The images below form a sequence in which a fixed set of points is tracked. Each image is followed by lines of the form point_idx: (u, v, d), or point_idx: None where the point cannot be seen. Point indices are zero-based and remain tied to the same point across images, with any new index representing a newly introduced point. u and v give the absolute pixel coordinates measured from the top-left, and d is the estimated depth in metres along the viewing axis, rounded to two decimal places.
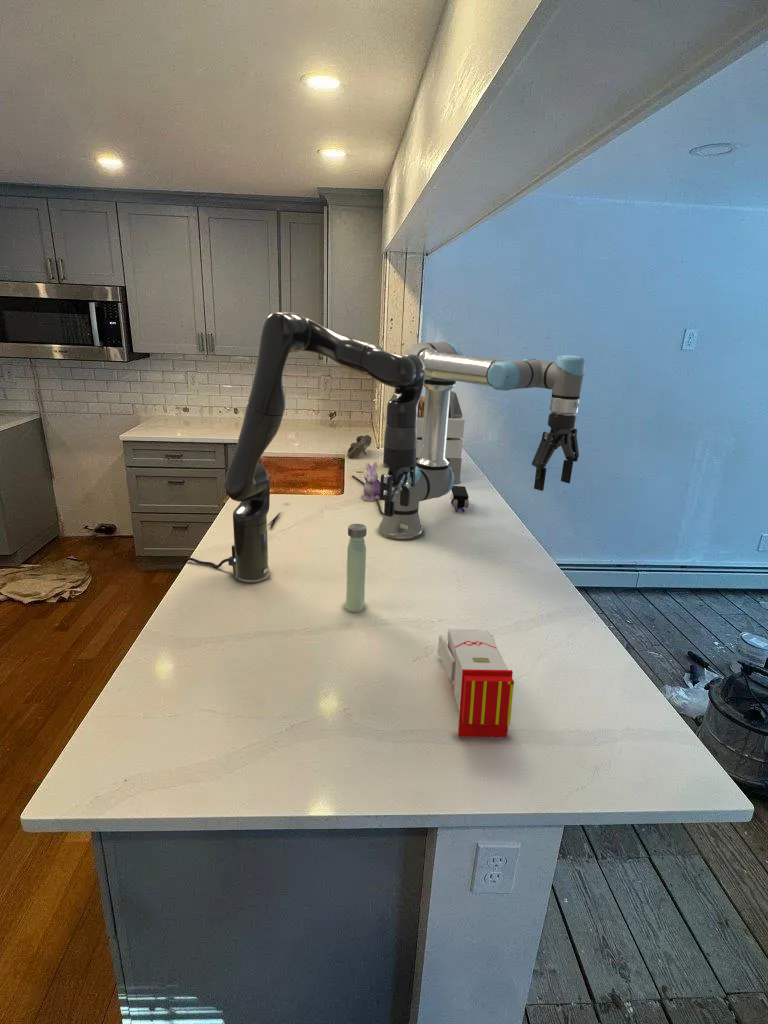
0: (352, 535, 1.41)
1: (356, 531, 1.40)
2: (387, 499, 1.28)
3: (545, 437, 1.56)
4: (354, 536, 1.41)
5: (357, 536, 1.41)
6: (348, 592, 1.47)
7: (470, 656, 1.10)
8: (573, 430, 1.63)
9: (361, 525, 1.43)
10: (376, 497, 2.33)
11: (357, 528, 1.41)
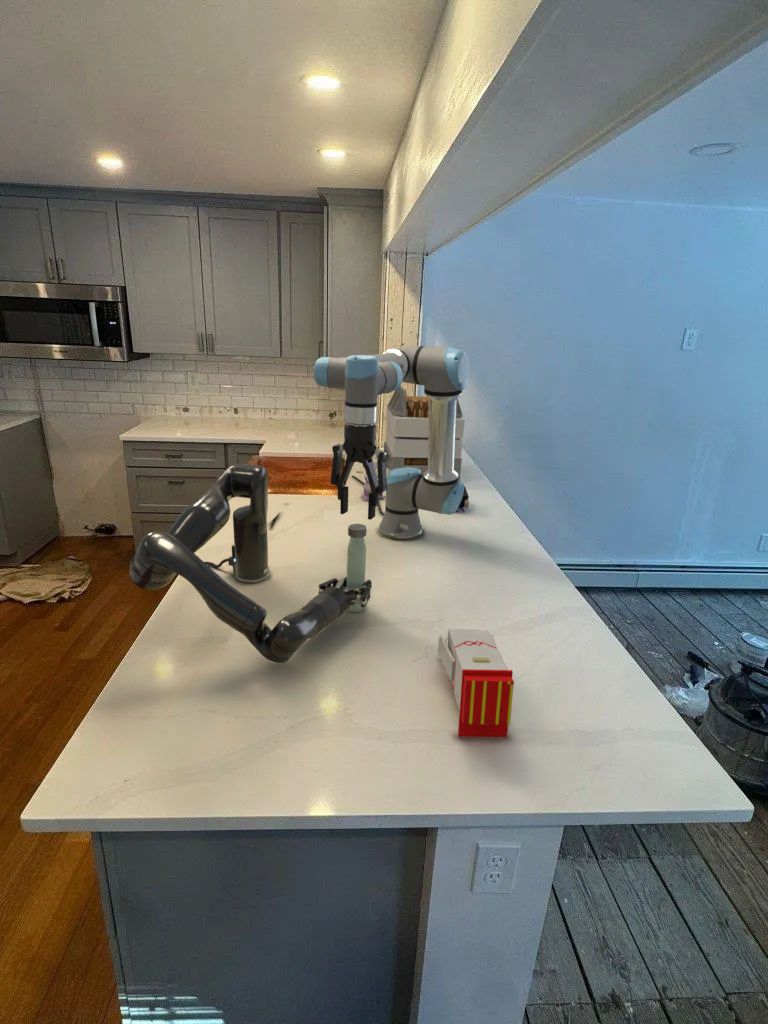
0: (352, 535, 1.41)
1: (356, 531, 1.40)
2: (370, 590, 1.43)
3: (384, 458, 1.33)
4: (354, 536, 1.41)
5: (357, 536, 1.41)
6: None
7: (470, 656, 1.10)
8: None
9: (361, 525, 1.43)
10: None
11: (357, 528, 1.41)
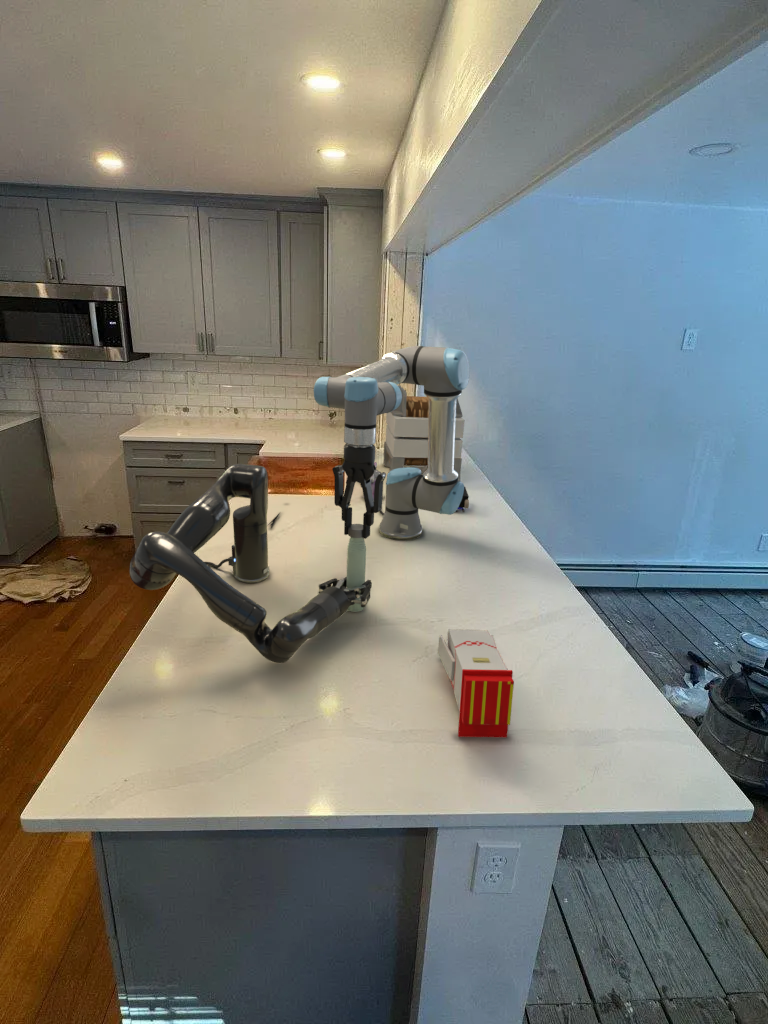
0: (352, 535, 1.41)
1: (356, 531, 1.40)
2: (370, 590, 1.43)
3: (382, 480, 1.35)
4: (354, 536, 1.41)
5: (357, 536, 1.41)
6: None
7: (470, 656, 1.10)
8: None
9: (361, 525, 1.43)
10: None
11: (357, 528, 1.41)
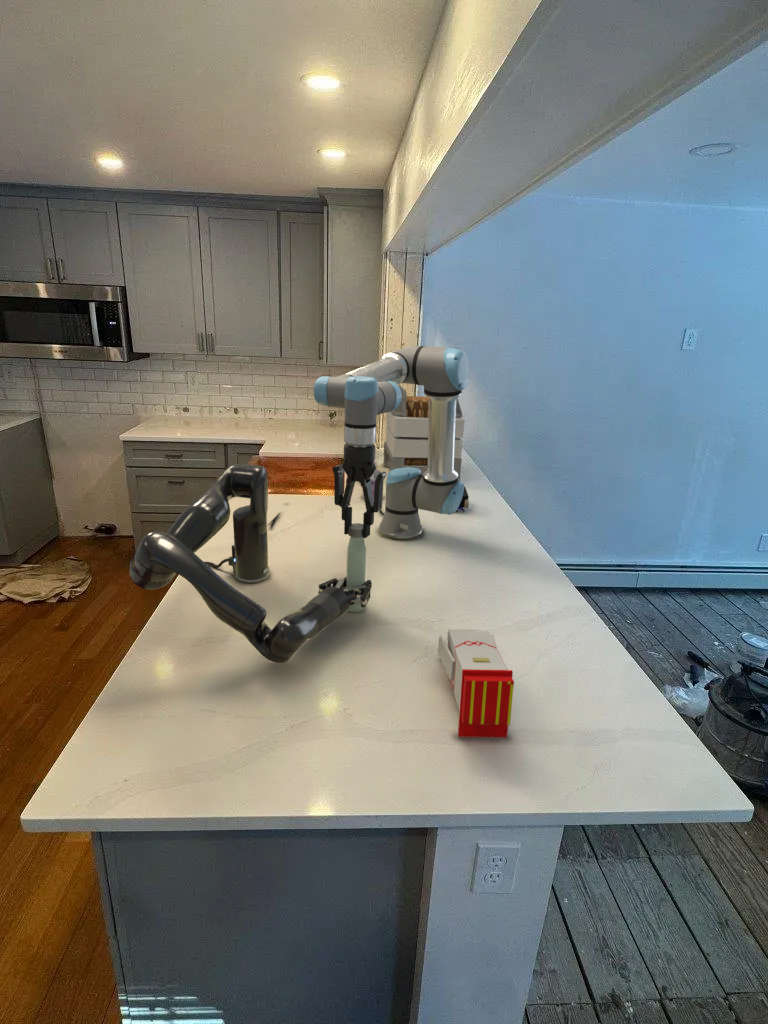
0: None
1: None
2: (370, 590, 1.43)
3: (382, 479, 1.35)
4: None
5: None
6: None
7: (470, 656, 1.10)
8: None
9: (351, 525, 1.42)
10: None
11: (360, 525, 1.43)
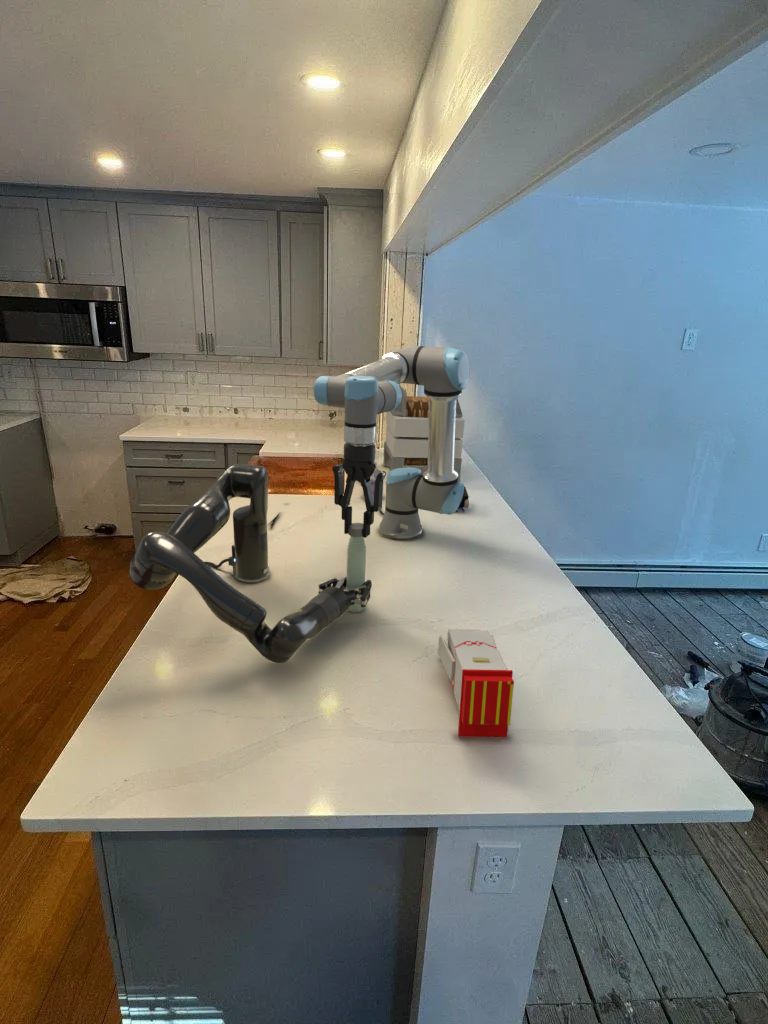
0: None
1: None
2: (370, 590, 1.43)
3: (382, 478, 1.35)
4: None
5: None
6: None
7: (470, 656, 1.10)
8: None
9: (358, 528, 1.41)
10: None
11: (353, 525, 1.43)
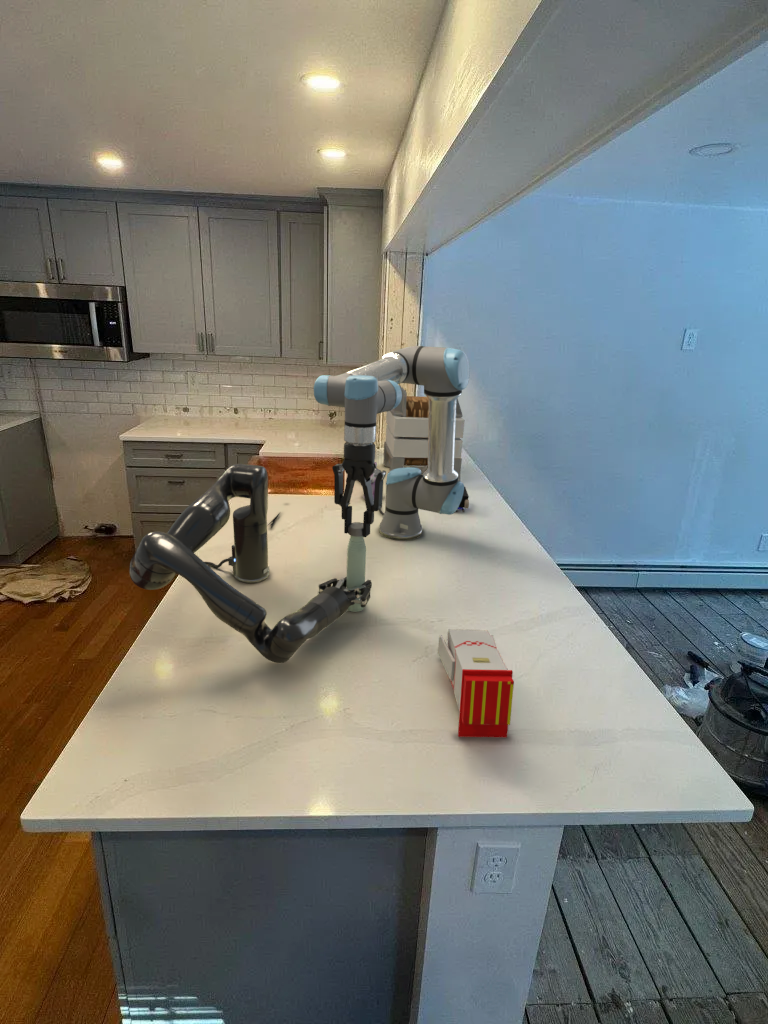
0: (351, 533, 1.41)
1: (355, 529, 1.40)
2: (370, 590, 1.43)
3: (382, 478, 1.35)
4: (353, 534, 1.41)
5: (356, 534, 1.40)
6: None
7: (470, 656, 1.10)
8: None
9: (362, 524, 1.43)
10: None
11: (356, 526, 1.41)
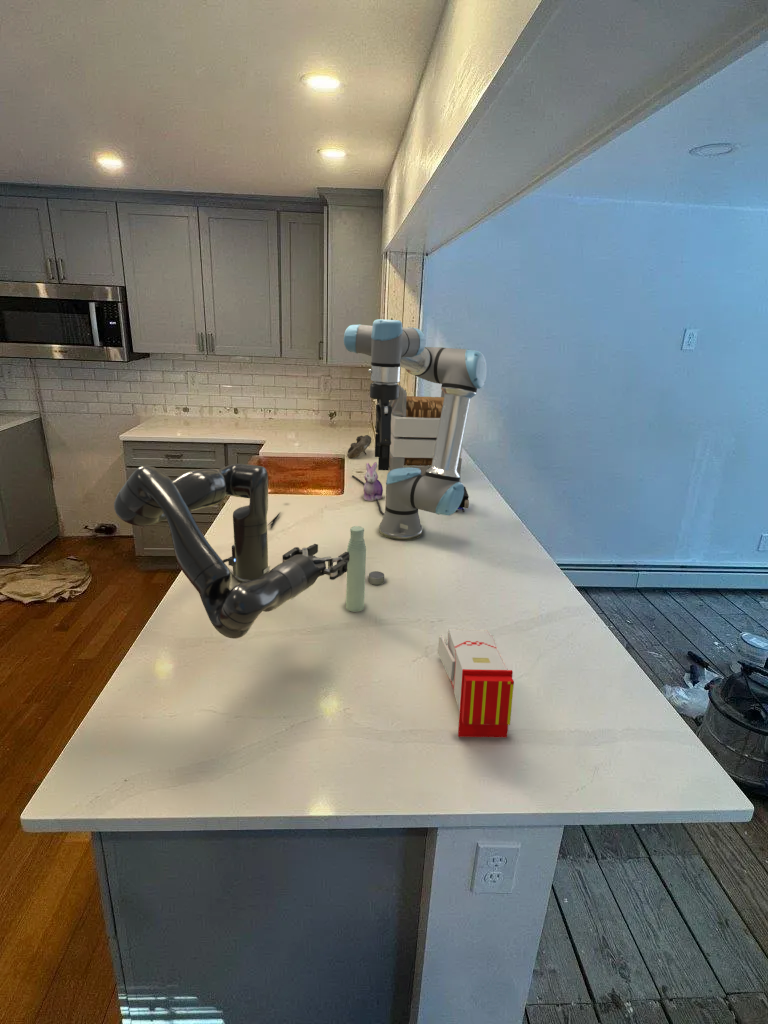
0: None
1: None
2: (347, 562, 1.25)
3: None
4: None
5: None
6: (348, 592, 1.47)
7: (470, 656, 1.10)
8: None
9: (371, 573, 1.64)
10: (376, 497, 2.33)
11: (379, 574, 1.64)
